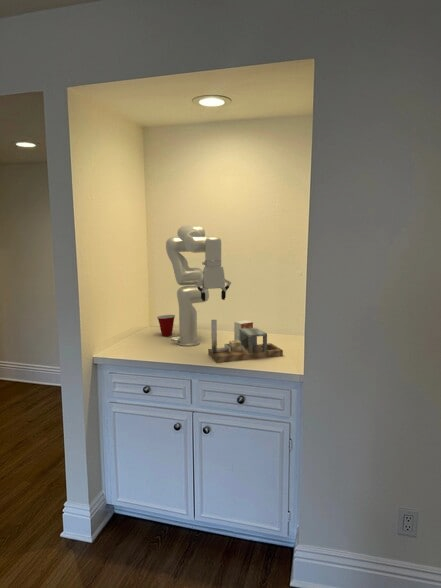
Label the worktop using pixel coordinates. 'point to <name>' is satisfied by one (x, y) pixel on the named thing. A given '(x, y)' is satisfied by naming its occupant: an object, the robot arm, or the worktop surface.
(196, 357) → the worktop surface
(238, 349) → the maple block
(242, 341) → the brown wooden tray
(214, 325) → the sliding frame
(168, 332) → the plastic cup
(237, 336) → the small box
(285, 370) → the worktop surface
